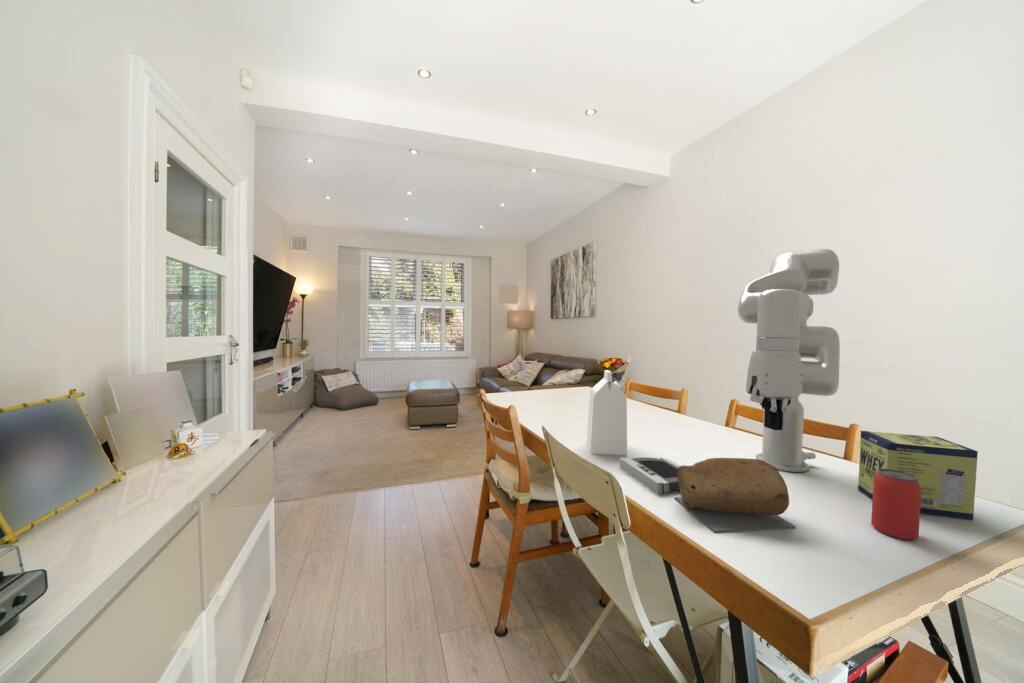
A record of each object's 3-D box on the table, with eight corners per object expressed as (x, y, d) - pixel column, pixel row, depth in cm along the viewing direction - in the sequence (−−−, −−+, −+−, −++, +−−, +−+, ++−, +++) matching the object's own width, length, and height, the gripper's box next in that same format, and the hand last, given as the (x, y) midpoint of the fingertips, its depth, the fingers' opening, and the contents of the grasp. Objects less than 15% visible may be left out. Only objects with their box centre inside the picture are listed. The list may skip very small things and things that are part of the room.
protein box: (855, 489, 91) (859, 429, 91) (935, 499, 87) (939, 436, 86) (883, 509, 82) (888, 442, 81) (975, 521, 77) (980, 450, 76)
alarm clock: (619, 457, 103) (668, 449, 107) (620, 473, 104) (668, 464, 108) (657, 483, 87) (713, 472, 91) (658, 501, 87) (713, 489, 91)
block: (795, 501, 70) (684, 495, 76) (786, 520, 75) (682, 513, 80) (773, 454, 79) (675, 452, 84) (767, 474, 83) (674, 471, 88)
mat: (743, 495, 87) (743, 494, 87) (795, 528, 73) (795, 526, 73) (674, 498, 85) (674, 497, 85) (714, 532, 71) (714, 530, 71)
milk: (586, 441, 127) (588, 368, 126) (619, 443, 126) (621, 369, 125) (590, 453, 115) (592, 373, 114) (627, 455, 114) (629, 374, 113)
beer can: (861, 522, 76) (864, 467, 75) (893, 523, 75) (897, 467, 75) (893, 541, 69) (897, 480, 68) (929, 542, 69) (933, 481, 68)
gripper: (792, 345, 83) (788, 423, 84) (733, 344, 81) (729, 424, 82) (823, 347, 76) (819, 432, 76) (759, 346, 74) (755, 434, 75)
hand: (773, 428), depth 79 cm, fingers closed
